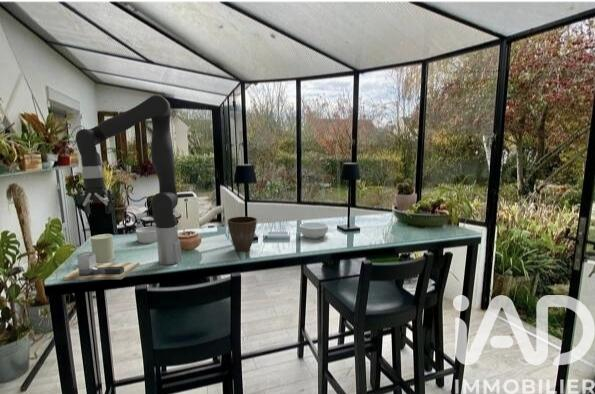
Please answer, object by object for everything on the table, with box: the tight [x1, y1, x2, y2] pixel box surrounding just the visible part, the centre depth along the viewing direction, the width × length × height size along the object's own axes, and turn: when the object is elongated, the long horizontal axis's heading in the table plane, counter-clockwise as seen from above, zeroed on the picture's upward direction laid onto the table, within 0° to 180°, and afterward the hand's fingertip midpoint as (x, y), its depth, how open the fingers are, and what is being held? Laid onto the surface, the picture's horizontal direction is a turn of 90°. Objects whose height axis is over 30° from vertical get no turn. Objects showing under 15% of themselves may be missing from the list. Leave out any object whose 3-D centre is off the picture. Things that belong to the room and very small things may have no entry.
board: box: [62, 262, 141, 281], centre depth 141 cm, size 24×16×1 cm, turn 90°
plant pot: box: [227, 216, 258, 252], centre depth 169 cm, size 15×15×16 cm
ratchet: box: [77, 266, 124, 276], centre depth 137 cm, size 18×6×7 cm, turn 90°
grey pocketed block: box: [76, 251, 97, 270], centre depth 137 cm, size 5×5×6 cm
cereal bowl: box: [299, 221, 329, 240], centre depth 192 cm, size 17×17×7 cm
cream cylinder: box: [90, 233, 116, 263], centre depth 156 cm, size 9×9×12 cm
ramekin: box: [135, 225, 157, 244], centre depth 187 cm, size 13×13×7 cm
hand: (98, 213), depth 142 cm, fingers open, 8 cm apart
